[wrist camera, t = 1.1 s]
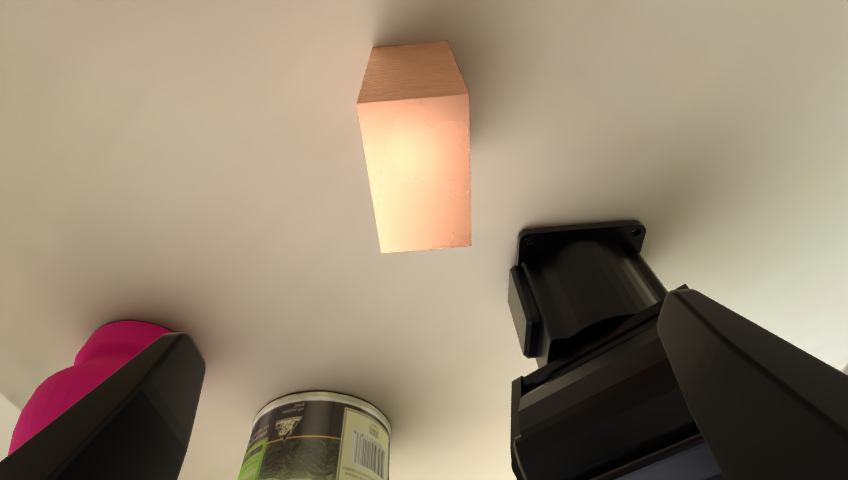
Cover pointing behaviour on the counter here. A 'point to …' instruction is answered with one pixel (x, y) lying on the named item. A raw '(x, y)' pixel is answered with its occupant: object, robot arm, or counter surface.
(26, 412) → the pepper mill
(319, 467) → the coffee can
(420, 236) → the tall wooden block
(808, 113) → the counter surface
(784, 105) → the counter surface
